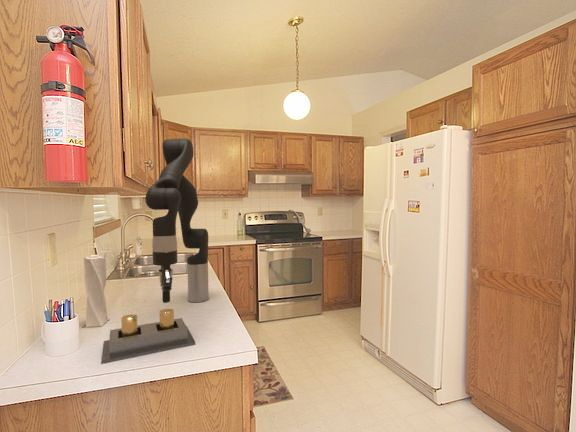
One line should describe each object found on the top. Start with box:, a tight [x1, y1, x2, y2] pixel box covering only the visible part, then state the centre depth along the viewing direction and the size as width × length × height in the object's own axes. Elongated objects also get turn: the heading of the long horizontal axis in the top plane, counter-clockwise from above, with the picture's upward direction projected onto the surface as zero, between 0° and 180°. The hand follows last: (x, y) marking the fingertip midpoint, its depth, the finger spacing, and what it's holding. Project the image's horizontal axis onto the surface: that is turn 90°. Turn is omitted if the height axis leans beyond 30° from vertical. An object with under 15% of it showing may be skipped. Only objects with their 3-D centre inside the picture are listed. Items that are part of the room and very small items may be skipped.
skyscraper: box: [81, 250, 110, 329], centre depth 120 cm, size 8×8×28 cm
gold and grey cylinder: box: [159, 308, 175, 331], centre depth 105 cm, size 4×4×9 cm
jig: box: [101, 313, 196, 365], centre depth 103 cm, size 15×26×10 cm, turn 117°
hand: (166, 301), depth 105 cm, fingers closed
